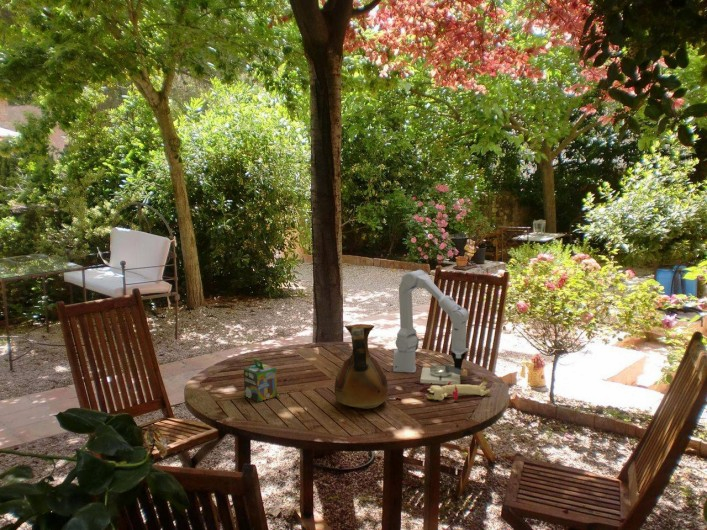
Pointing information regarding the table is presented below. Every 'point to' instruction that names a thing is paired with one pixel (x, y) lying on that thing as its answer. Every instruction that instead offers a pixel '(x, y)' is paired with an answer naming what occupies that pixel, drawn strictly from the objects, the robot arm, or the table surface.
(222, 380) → the table surface
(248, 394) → the chalk box
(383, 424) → the table surface
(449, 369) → the grey metal handled bowl
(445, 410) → the table surface
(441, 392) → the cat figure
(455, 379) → the cap plate
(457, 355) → the robot arm
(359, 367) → the brown vase
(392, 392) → the table surface
